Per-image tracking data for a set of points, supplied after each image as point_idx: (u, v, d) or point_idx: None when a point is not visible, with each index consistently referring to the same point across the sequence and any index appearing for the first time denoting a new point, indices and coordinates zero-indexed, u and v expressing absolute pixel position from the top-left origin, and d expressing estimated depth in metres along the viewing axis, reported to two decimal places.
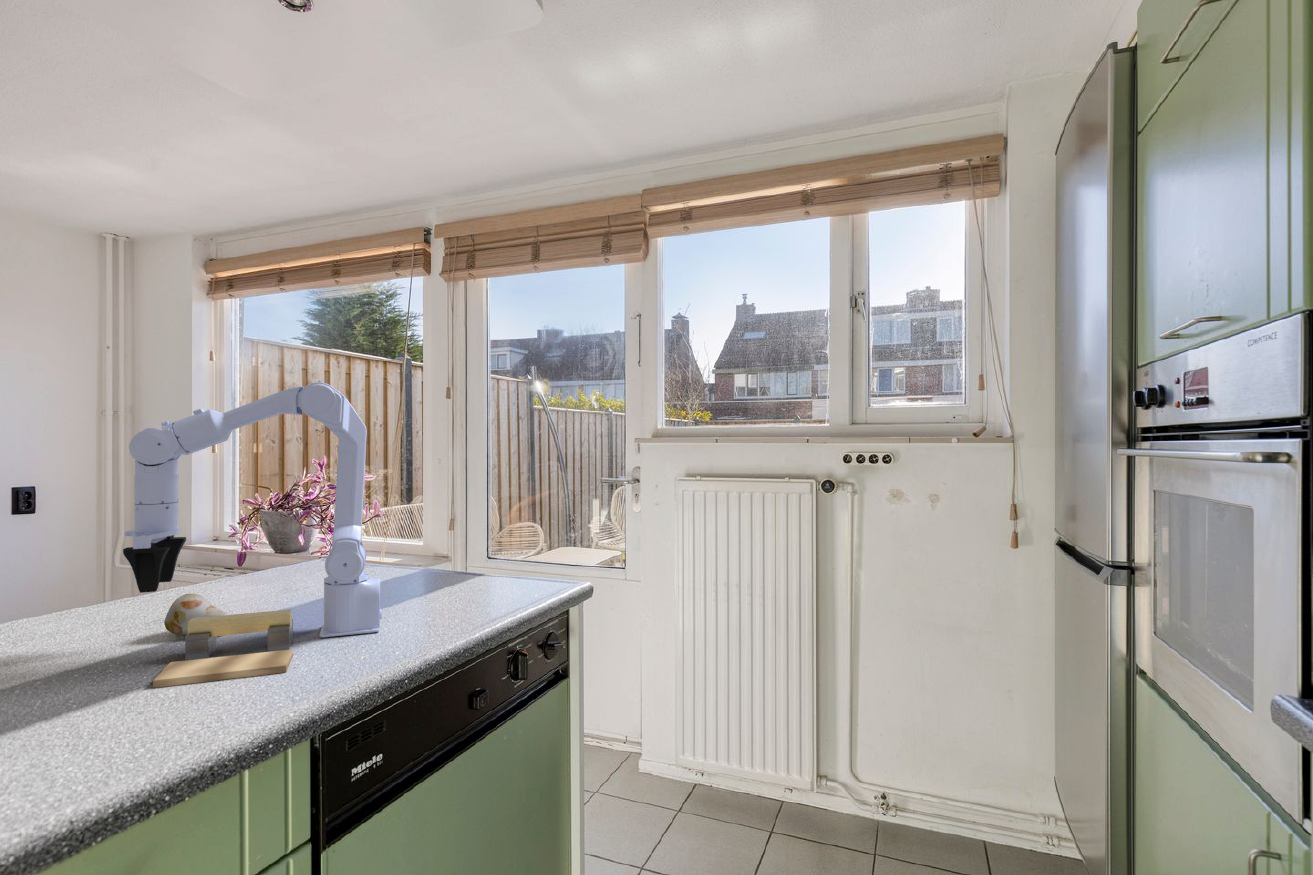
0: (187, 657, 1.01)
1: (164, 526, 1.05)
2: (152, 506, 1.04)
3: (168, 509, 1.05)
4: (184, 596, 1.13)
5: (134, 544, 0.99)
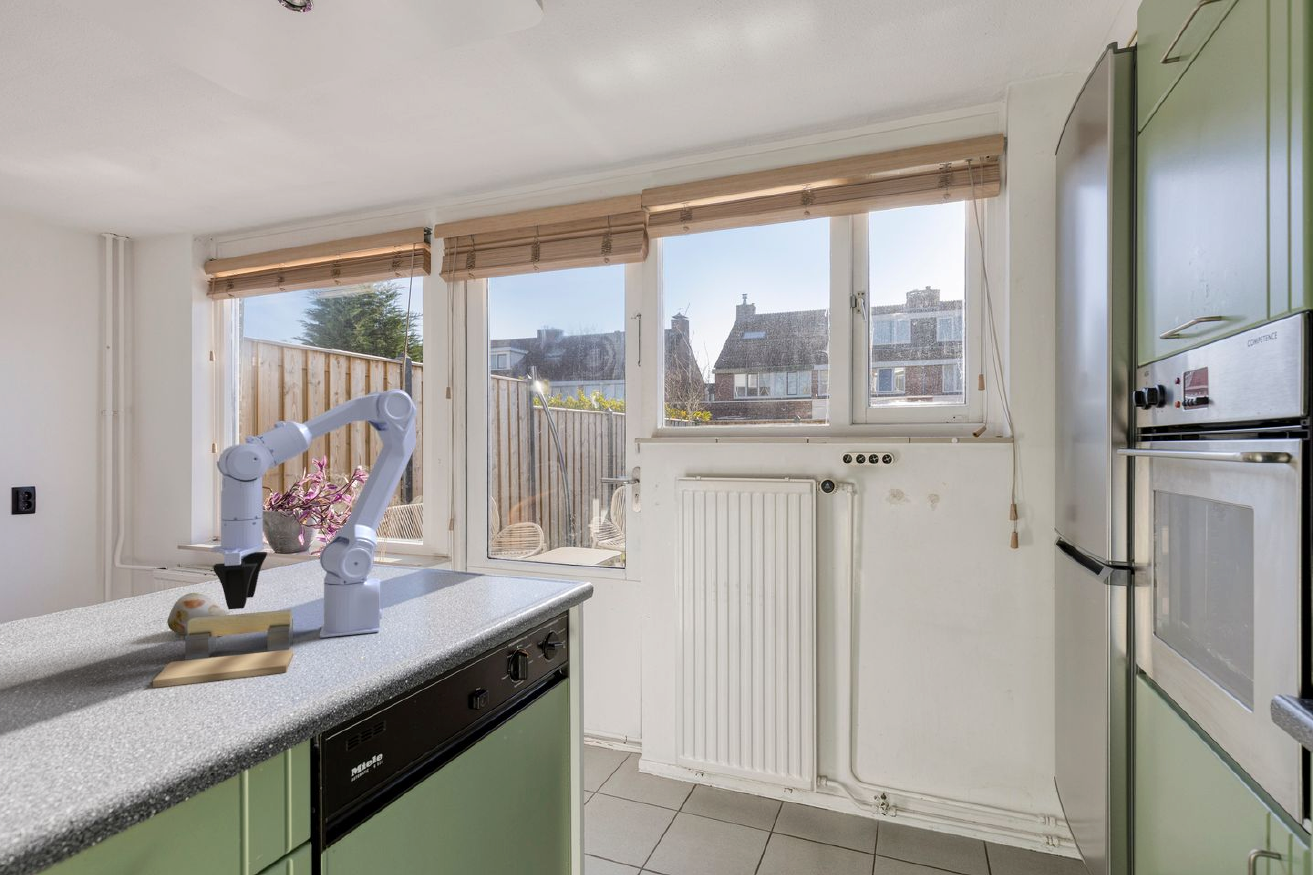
0: (187, 657, 1.01)
1: (251, 542, 1.04)
2: (240, 522, 1.03)
3: (254, 525, 1.05)
4: (187, 595, 1.14)
5: (225, 561, 0.99)
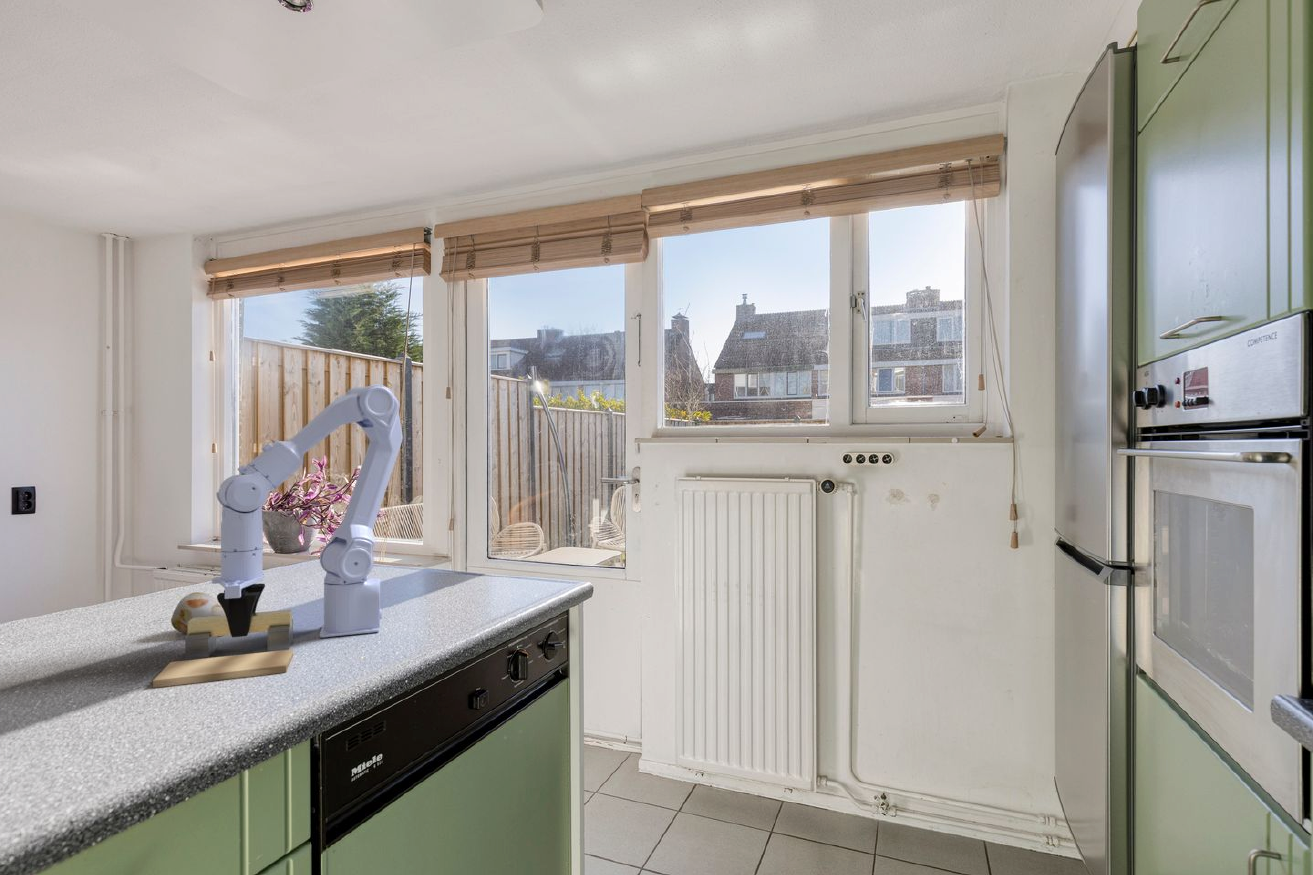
0: (187, 657, 1.01)
1: (251, 574, 1.04)
2: (240, 554, 1.03)
3: (254, 556, 1.05)
4: (191, 595, 1.14)
5: (225, 594, 0.99)
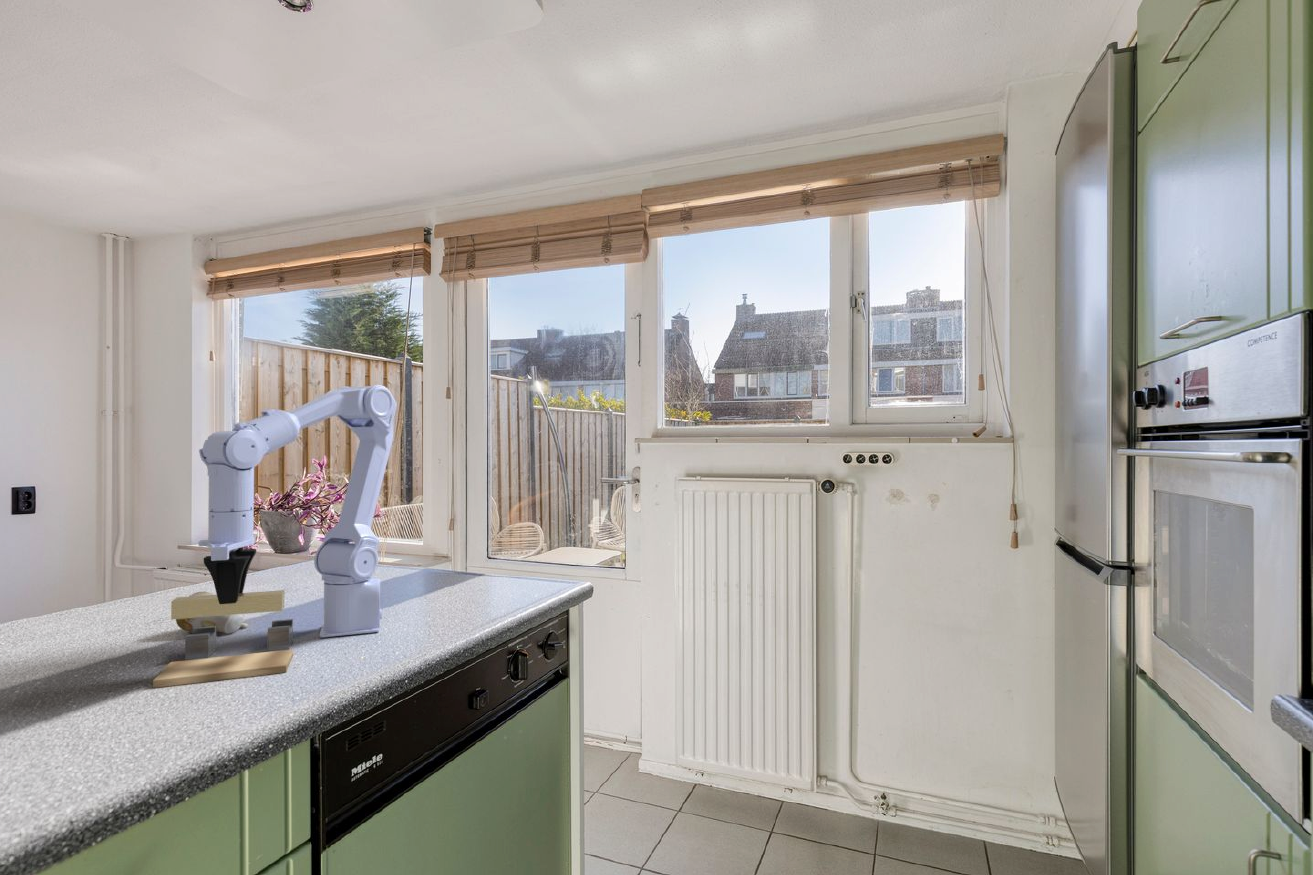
0: (187, 657, 1.01)
1: (240, 536, 0.97)
2: (228, 514, 0.96)
3: (244, 517, 0.98)
4: (195, 594, 1.15)
5: (212, 555, 0.91)
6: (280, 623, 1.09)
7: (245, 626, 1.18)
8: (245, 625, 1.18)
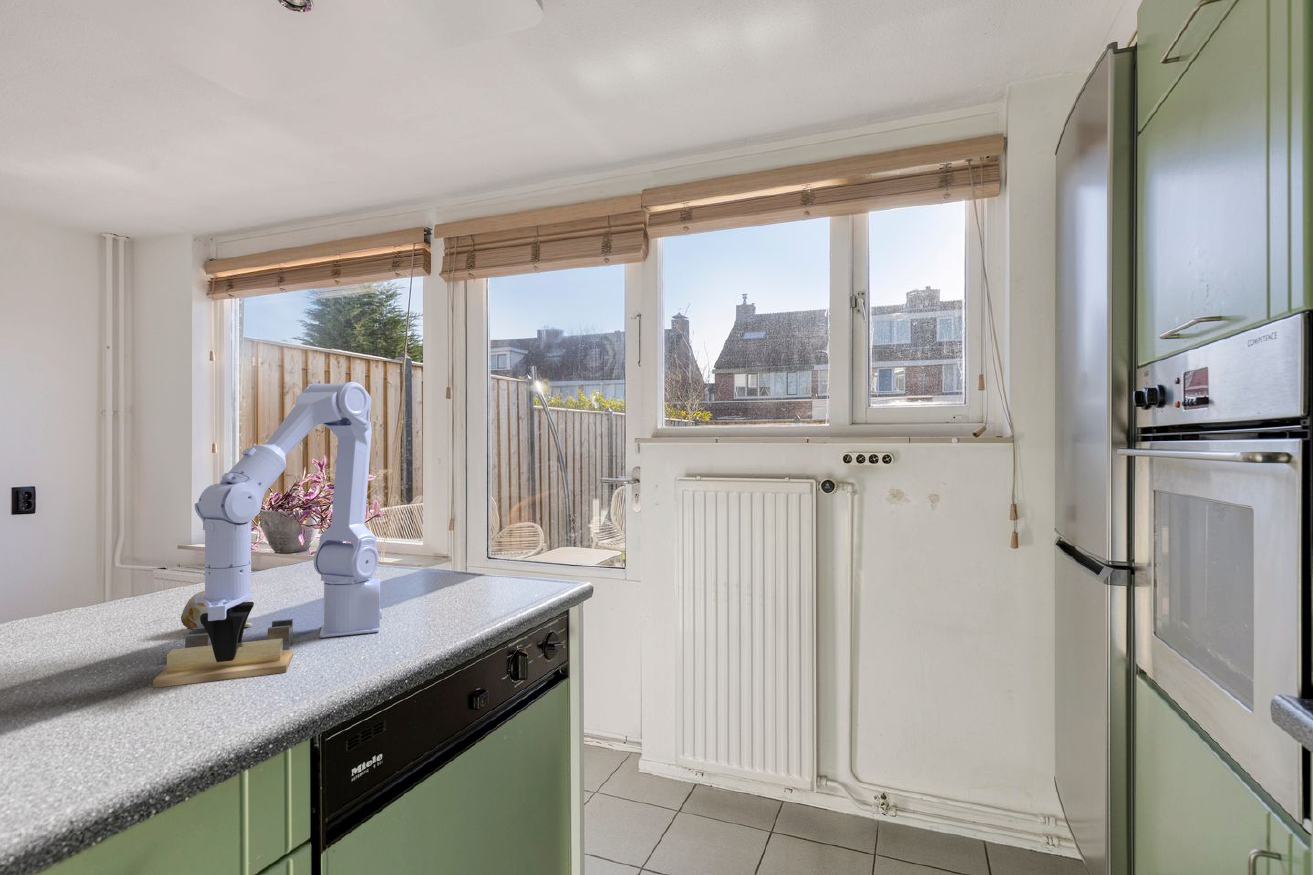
0: None
1: (238, 592, 0.95)
2: (225, 570, 0.94)
3: (242, 572, 0.96)
4: (200, 593, 1.16)
5: (209, 615, 0.89)
6: (280, 623, 1.09)
7: (249, 625, 1.18)
8: (249, 624, 1.18)
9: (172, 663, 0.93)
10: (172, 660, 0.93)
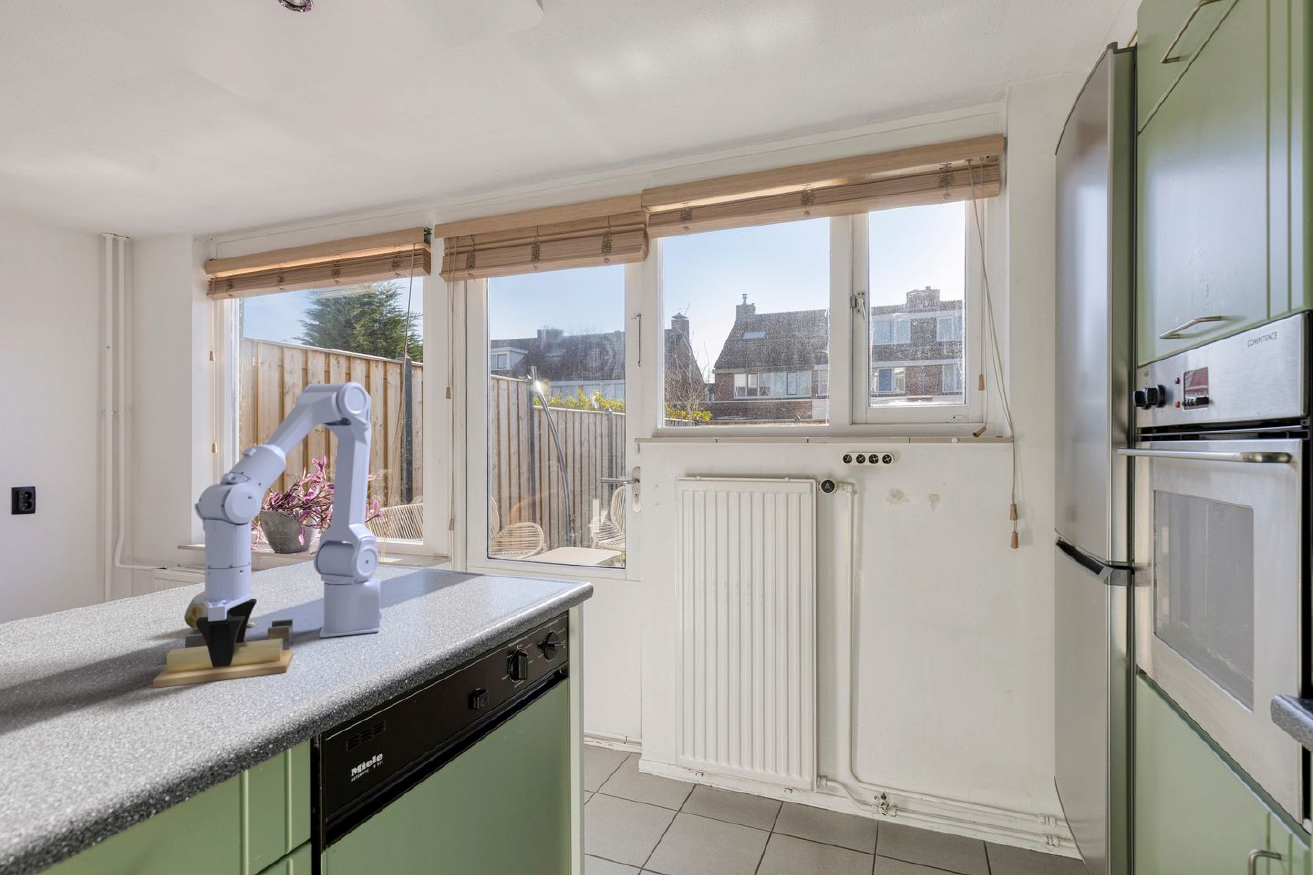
0: None
1: (238, 592, 0.95)
2: (225, 570, 0.94)
3: (242, 573, 0.96)
4: (204, 593, 1.16)
5: (209, 616, 0.89)
6: (280, 623, 1.09)
7: (252, 625, 1.19)
8: (252, 624, 1.19)
9: (172, 663, 0.93)
10: (172, 660, 0.93)
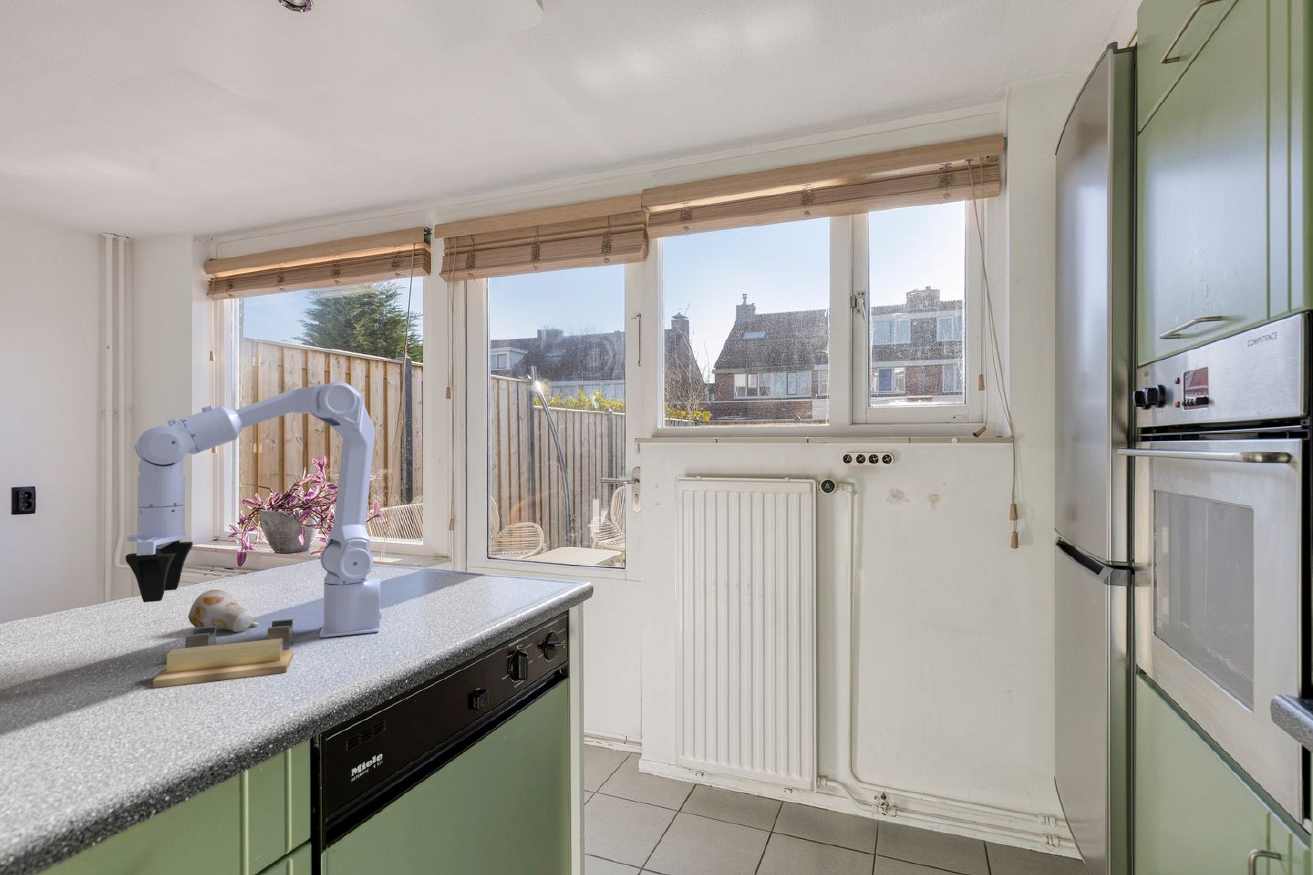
0: None
1: (169, 531, 0.98)
2: (157, 509, 0.97)
3: (174, 512, 0.98)
4: (208, 592, 1.16)
5: (137, 550, 0.92)
6: (280, 623, 1.09)
7: (256, 625, 1.19)
8: (256, 624, 1.19)
9: (172, 663, 0.93)
10: (172, 660, 0.93)
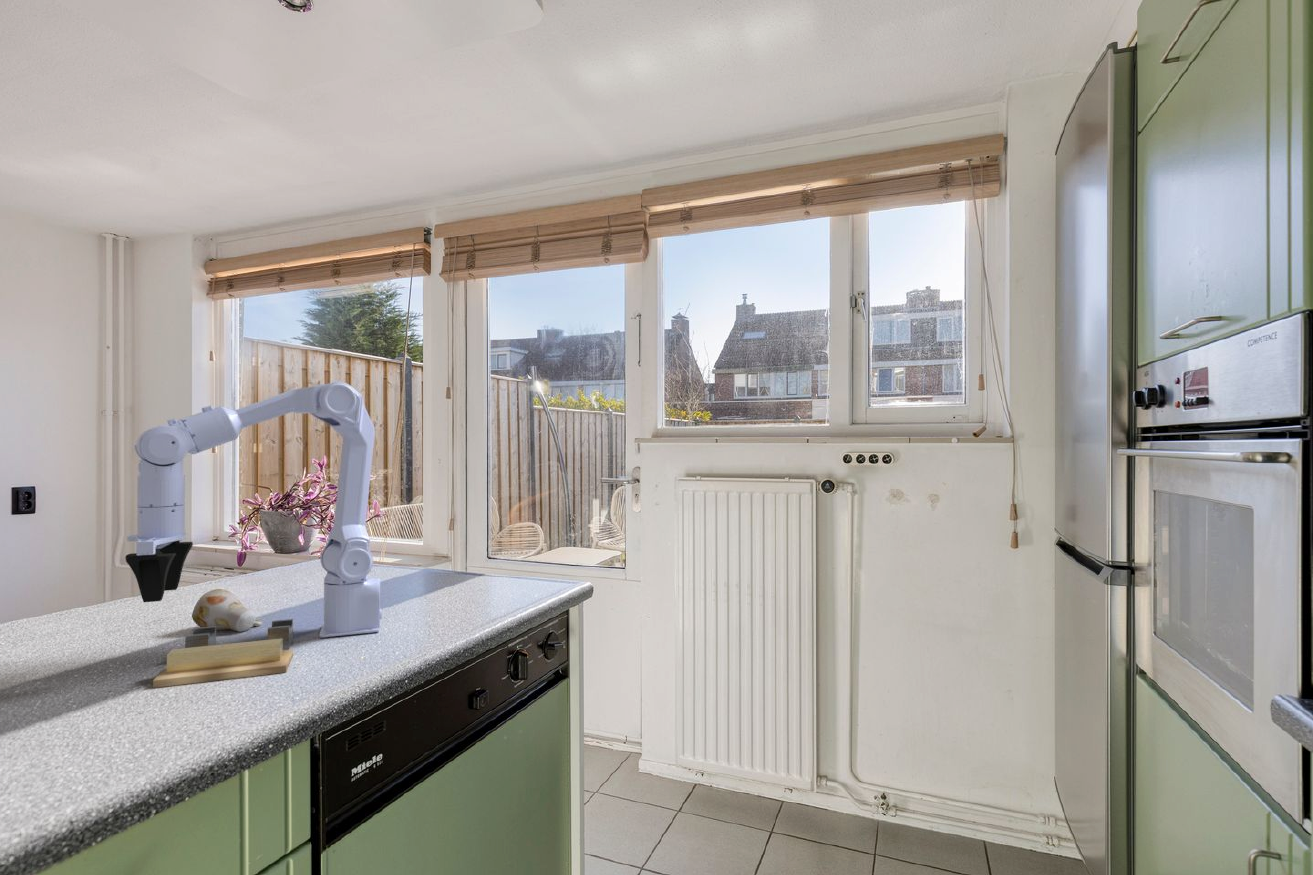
0: None
1: (169, 531, 0.98)
2: (157, 509, 0.97)
3: (174, 512, 0.98)
4: (211, 591, 1.17)
5: (137, 550, 0.92)
6: (280, 623, 1.09)
7: (259, 624, 1.19)
8: (259, 623, 1.19)
9: (172, 663, 0.93)
10: (172, 660, 0.93)
